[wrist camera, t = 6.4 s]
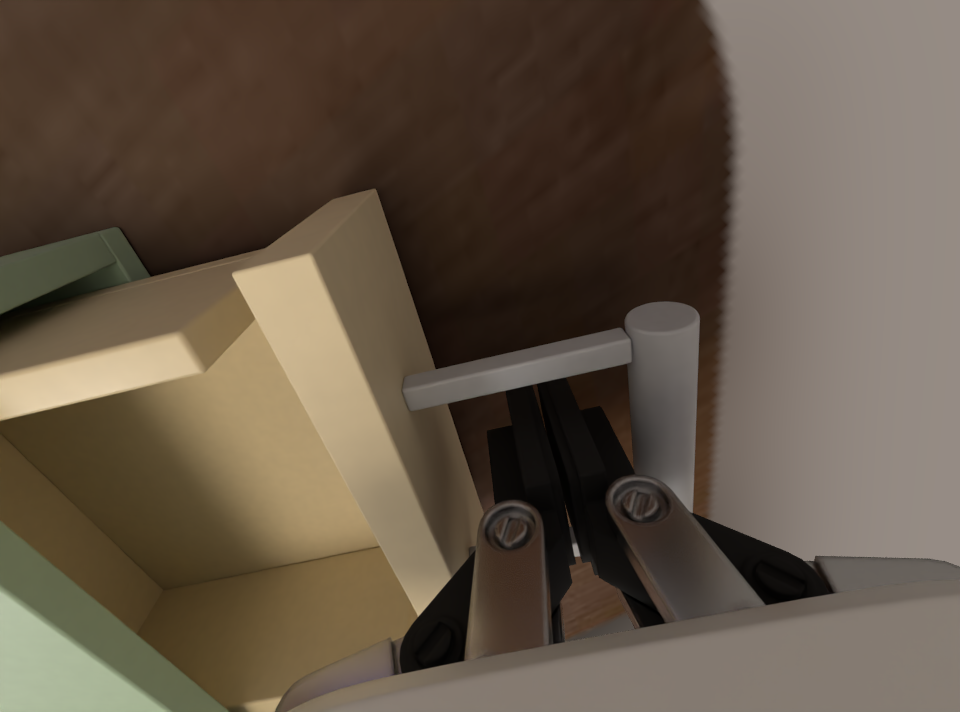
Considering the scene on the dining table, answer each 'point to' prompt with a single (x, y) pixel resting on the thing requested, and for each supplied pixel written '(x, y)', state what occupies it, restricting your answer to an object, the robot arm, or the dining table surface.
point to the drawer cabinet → (47, 590)
